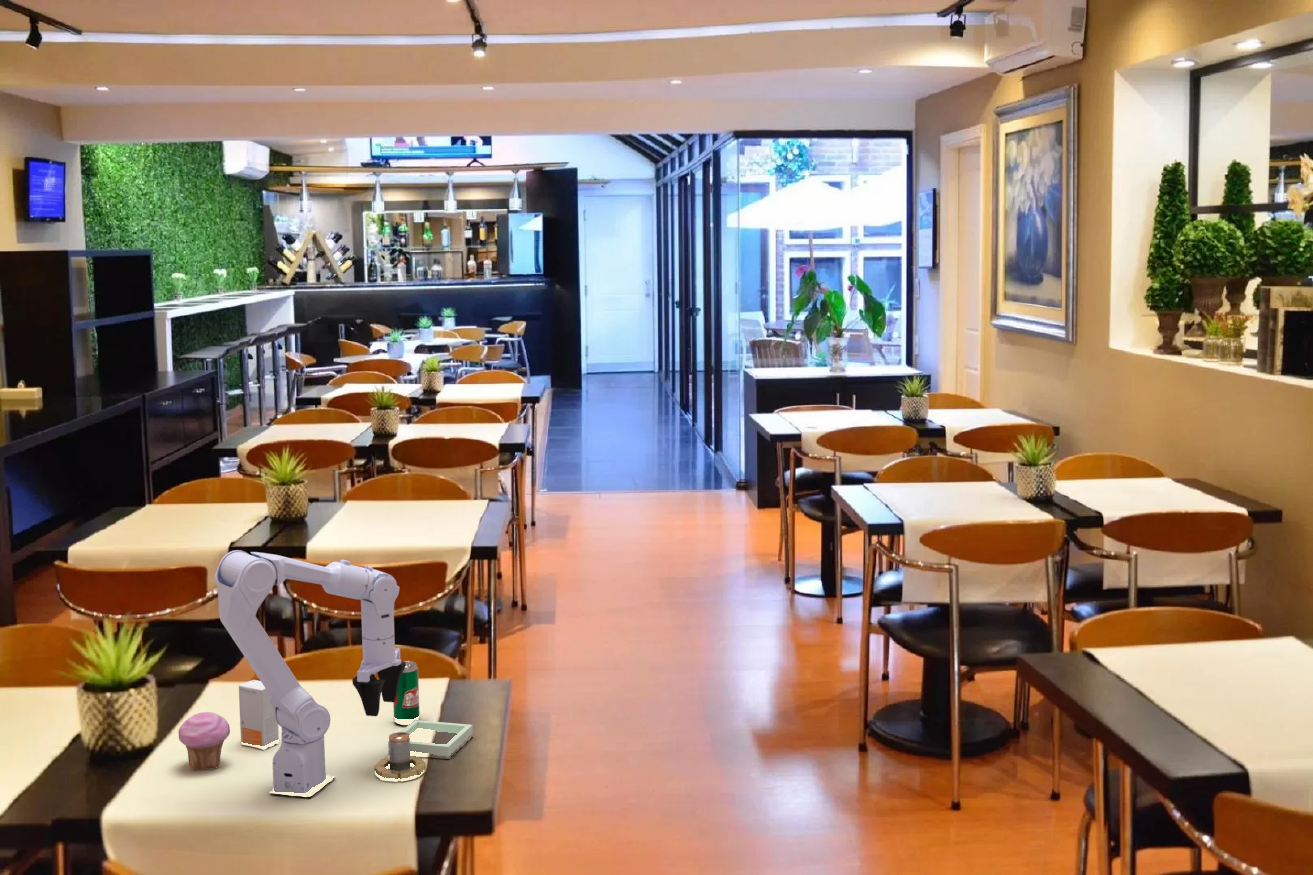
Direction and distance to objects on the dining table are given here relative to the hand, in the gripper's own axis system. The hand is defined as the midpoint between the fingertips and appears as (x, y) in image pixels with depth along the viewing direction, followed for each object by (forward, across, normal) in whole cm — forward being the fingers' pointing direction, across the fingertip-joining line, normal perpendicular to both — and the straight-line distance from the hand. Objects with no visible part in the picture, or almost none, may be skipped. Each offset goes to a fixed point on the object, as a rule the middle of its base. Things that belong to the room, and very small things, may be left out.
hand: (380, 708), depth 243 cm
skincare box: (+11, +4, +27) cm, 29 cm away
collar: (+10, -4, -5) cm, 12 cm away
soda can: (+11, +21, +4) cm, 24 cm away
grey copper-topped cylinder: (+10, -4, -5) cm, 12 cm away
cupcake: (+11, -8, +31) cm, 34 cm away
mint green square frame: (+10, +10, -5) cm, 15 cm away
